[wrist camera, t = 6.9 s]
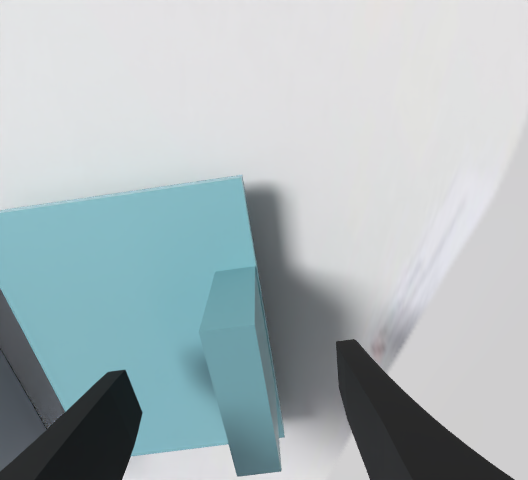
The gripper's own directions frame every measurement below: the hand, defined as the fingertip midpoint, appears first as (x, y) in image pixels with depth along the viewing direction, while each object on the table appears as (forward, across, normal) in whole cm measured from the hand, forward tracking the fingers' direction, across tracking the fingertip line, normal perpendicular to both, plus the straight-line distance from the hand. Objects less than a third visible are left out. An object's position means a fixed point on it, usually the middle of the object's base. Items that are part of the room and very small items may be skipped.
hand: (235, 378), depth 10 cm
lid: (+4, +4, 0) cm, 5 cm away
